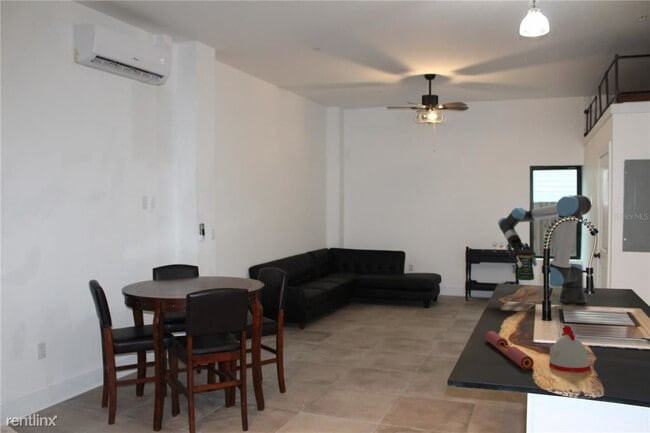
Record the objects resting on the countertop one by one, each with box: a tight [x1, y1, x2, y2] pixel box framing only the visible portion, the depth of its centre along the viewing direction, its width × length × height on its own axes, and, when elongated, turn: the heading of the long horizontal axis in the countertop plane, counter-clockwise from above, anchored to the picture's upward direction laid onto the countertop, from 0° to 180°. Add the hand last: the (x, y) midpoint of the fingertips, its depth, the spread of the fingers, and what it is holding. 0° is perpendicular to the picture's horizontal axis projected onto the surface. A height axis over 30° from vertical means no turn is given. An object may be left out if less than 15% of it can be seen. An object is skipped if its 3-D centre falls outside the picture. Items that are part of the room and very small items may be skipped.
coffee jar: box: [516, 248, 535, 281], centre depth 342 cm, size 10×8×19 cm
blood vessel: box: [485, 330, 535, 370], centre depth 227 cm, size 42×5×5 cm, turn 1°
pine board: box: [500, 301, 535, 312], centre depth 324 cm, size 14×20×2 cm
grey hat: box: [548, 325, 591, 373], centre depth 208 cm, size 14×14×15 cm
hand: (528, 265), depth 339 cm, fingers closed on coffee jar, 10 cm apart
